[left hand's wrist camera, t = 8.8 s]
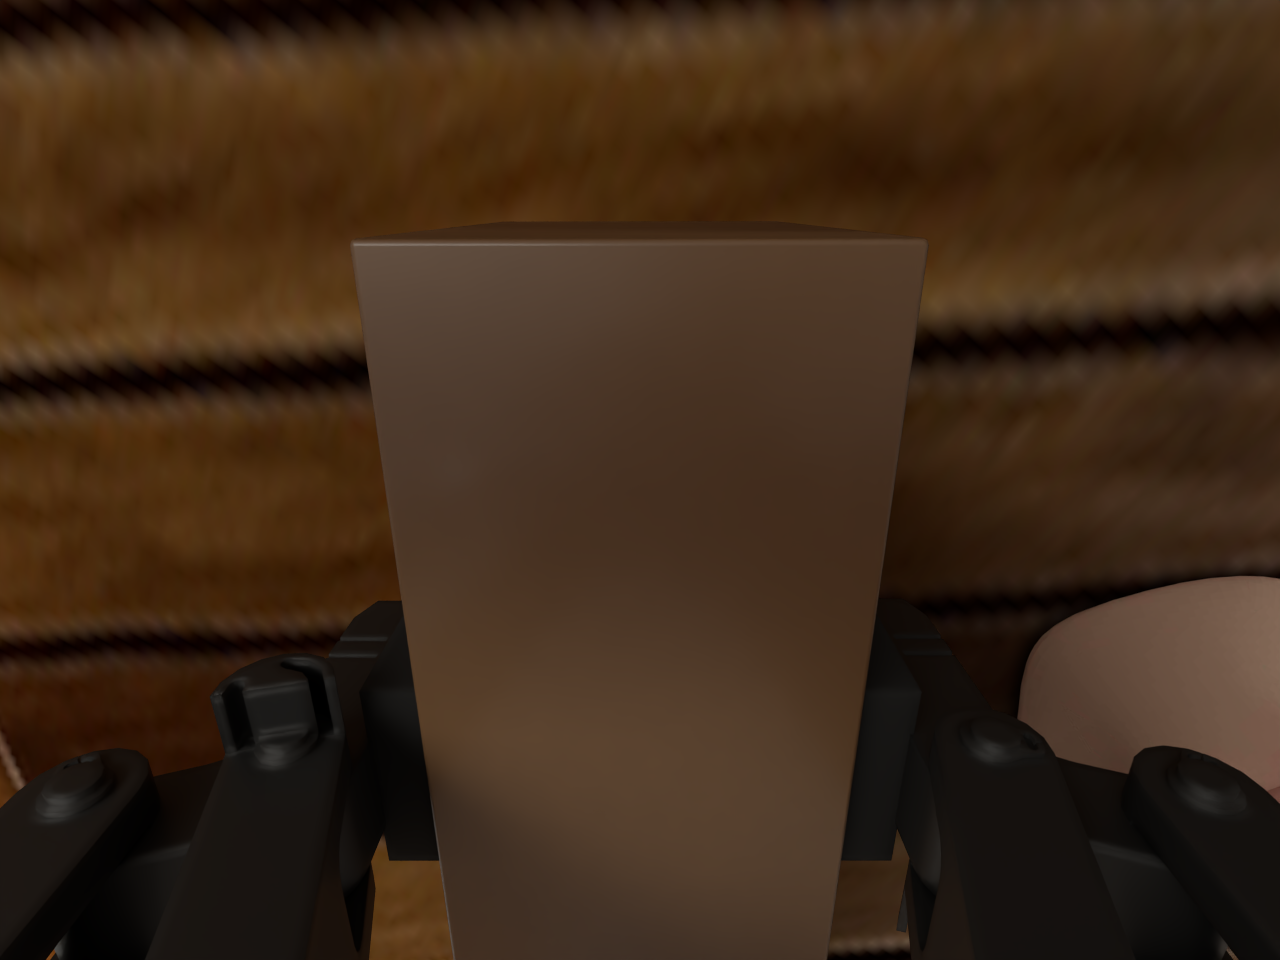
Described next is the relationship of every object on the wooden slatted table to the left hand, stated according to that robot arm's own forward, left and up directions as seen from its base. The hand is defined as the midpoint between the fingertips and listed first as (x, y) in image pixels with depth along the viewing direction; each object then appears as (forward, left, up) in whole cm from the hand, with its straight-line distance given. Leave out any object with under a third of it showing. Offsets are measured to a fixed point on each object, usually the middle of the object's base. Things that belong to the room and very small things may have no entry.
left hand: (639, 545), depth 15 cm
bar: (+2, +24, 0) cm, 24 cm away
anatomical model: (-17, +11, -6) cm, 22 cm away
